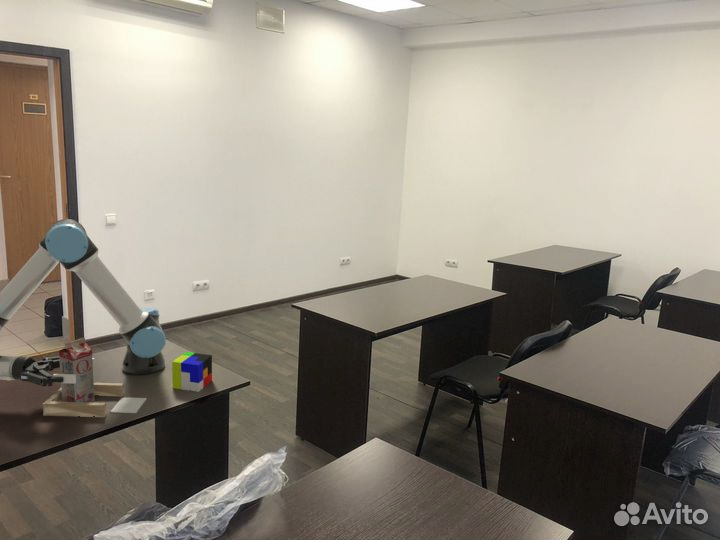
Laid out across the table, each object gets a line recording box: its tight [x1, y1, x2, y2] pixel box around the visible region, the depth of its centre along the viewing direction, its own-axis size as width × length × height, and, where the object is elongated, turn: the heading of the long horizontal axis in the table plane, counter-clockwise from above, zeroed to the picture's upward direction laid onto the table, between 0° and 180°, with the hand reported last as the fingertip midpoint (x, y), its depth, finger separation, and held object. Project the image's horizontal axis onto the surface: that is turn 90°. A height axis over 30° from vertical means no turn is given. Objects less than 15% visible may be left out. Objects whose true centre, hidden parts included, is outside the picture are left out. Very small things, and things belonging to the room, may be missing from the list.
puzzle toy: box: [171, 351, 213, 393], centre depth 194 cm, size 10×10×10 cm
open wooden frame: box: [42, 382, 125, 418], centre depth 175 cm, size 16×18×4 cm
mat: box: [109, 396, 147, 414], centre depth 176 cm, size 10×8×1 cm
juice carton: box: [58, 337, 96, 403], centre depth 173 cm, size 7×7×22 cm
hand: (85, 370), depth 173 cm, fingers open, 13 cm apart
